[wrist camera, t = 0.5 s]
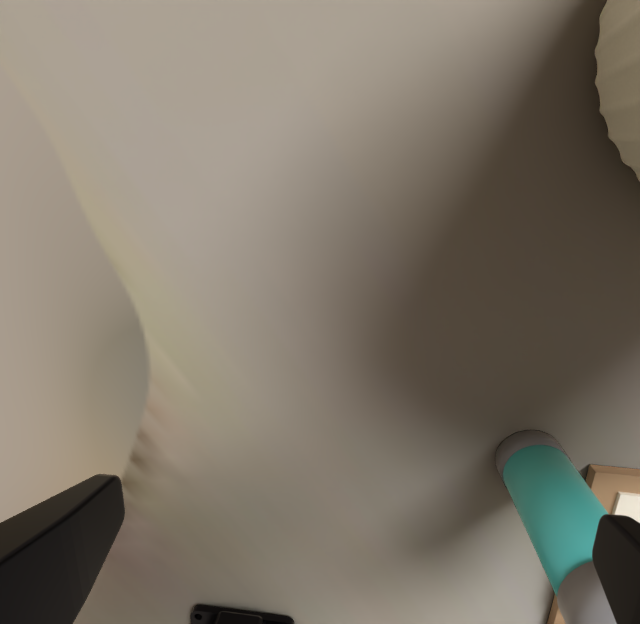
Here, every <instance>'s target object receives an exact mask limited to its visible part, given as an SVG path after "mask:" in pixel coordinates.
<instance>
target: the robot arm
mask: <svg viewBox="0 0 640 624" xmlns="http://www.w3.org/2000/svg"><path fill="white" fill-rule="evenodd" d="M124 515H125V507H124V499H123V492H122V484H121V480H120V478H119V477H118V476H116V475H106V474H98V475H95V476H93V477H91V478H89V479H87V480H85V481H83V482H81V483H79V484H77V485H75V486H73V487H71V488H69V489H67V490H65V491H63V492H61V493H59V494H57V495H55V496H53V497H51V498H49V499H47V500H45V501H43V502H41V503H39V504H37V505H35V506H33V507H31V508H29V509H27V510H25V511H23V512H21V513H19V514H17V515H16V516H13V517H11V518H9V519H7V520H6V521H4V522H1V523H0V624H73V622H74V620H75V618H76V617H77V615H78V613H79V611H80V610H81V608H82V606H83V604H84V602H85V600H86V599H87V597H88V595H89V593H90V591H91V589H92V586H93V584H94V582H95V580H96V578H97V576H98V574H99V572H100V570H101V567H102V565H103V563H104V561H105V559H106V557H107V555H108V553H109V551H110V548H111V546H112V544H113V542H114V540H115V538H116V536H117V534H118V532H119V530H120V527H121V525H122V523H123V520H124ZM592 559H593V564H594V567H595V570H596V572H597V575H598V577H599V580H600V582H601V585H602V588H603V590H604V593H605V595H606V598H607V600H608V603H609V605H610V608H611V611H612V613H613V616H614V618H615V621H616V623H617V624H640V523H639V522H637V521H636V520H634V519H633V518H631V517H629V516H624V515H612V514H605V515H603V516H602V517H601V518H600V520H599V523H598V528H597V532H596V536H595V540H594V545H593V549H592ZM191 624H294V621H293V619H292V618H290V617H287V616H280V615H273V614H265V613H258V612H250V611H243V610H235V609H228V608H220V607H213V606H205V605H196V606H195V607H194V608H193V610H192V613H191Z"/></svg>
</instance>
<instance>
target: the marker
mask: <svg viewBox="0 0 640 624" xmlns="http://www.w3.org/2000/svg"><path fill="white" fill-rule="evenodd" d="M495 463H496V467H497V469H498V472H499V474H500V476H501V478H502V481H503V483H504V485H505V487H506V488H507V489H508V491H509V493H510V496H511V498H512V500H513V502H514V504H515V507H516V509H517V511H518V513H519V515H520V517H521V520H522V522H523V524H524V526H525V528H526V531H527V533H528V535H529V537H530V539H531V542H532V544H533V546H534V548H535V550H536V552H537V555H538V557H539V559H540V561H541V563H542V566H543V568H544V570H545V572H546V574H547V577H548V579H549V581H550V583H551V585H552V587H553V590H554V592H555V594H556V596H557V603H558V607H559V610H560V612H561V614H562V616H563V619H564V621H565V623H566V624H617V623H616V621H615V618H614V616H613V613H612V611H611V608H610V605H609V603H608V600H607V598H606V595H605V593H604V590H603V588H602V585H601V582H600V580H599V577H598V575H597V572H596V570H595V567H594V564H593V559H592V549H593V545H594V540H595V536H596V532H597V528H598V523H599V520H600V518H601V517H602V516H603V515H605V514H608V512H607V511H606V509H605V508H604V507H603V505H602V504H601V503H600V501H599V500H598V498H597V497H596V496H595V494H594V493H593V492H592V490H591V489H590V487H589V486H588V485H587V483H586V482H585V481H584V479H583V478H582V476H581V475H580V474H579V472H578V471H577V470H576V468H575V467H574V465H573V464H572V462H571V460H570V458H569V457H568V455H567V454H566V453H565V451H564V450H563V449H562V447H561V446H560V444H559V443H558V442H557V440H556V439H555V438H553V437H552V436H551V435H549V434H547V433H544V432H541V431H537V430H525V431H520V432H517V433H515V434H512V435H511V436H509V437H508V438H506V439H505V440H504V441H503V442H502V443H501V444H500V446H499V447H498V449H497V452H496V456H495Z"/></svg>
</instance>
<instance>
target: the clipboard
mask: <svg viewBox="0 0 640 624" xmlns="http://www.w3.org/2000/svg"><path fill="white" fill-rule="evenodd" d="M585 482H586V483H587V485H588V486H589V487H590V489H591V490H592V492H593V493H594V494H595V496H596V497H597V498H598V500H599V501H600V503H601V504H602V505H603V507H604V508H605V509H606V511H607V512H608V514H612V515H624V516H629V517H631V518H633V519H634V520H636V521H637V522H639V523H640V469H631V468H620V467H610V466H600V465H590V466H589V469H588V473H587V477H586V481H585ZM547 624H566V623H565V621H564V619H563V616H562V614H561V612H560V610H559V607H558V603H557V596H556V594H555V596H554V599H553V603H552V607H551V611H550V614H549V618H548V622H547Z"/></svg>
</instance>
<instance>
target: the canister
mask: <svg viewBox="0 0 640 624" xmlns="http://www.w3.org/2000/svg"><path fill="white" fill-rule="evenodd" d="M599 25H600V34H599V39H598V43H597V46H596V48H595V57H596V60H597V76H596V79H595V85H596V87H597V89H598V92H599V97H600V109H599V111H600V113H601V114H602V115H603V116H604V118H605V121H606V123H607V126H608V137H609V139H610V140H612V141H613V142H614V143H615V145H616V146H617V148H618V150H619V152H620V157H621V160H622V162H624V163H625V164H626V165H628V166H630V167H631V168H632V169H633V170H634V172H635V173H636V176H637V178H638V180H639V181H640V0H607V2H606V5H605V6H604V8H603V10H602V12H601V14H600V17H599Z"/></svg>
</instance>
